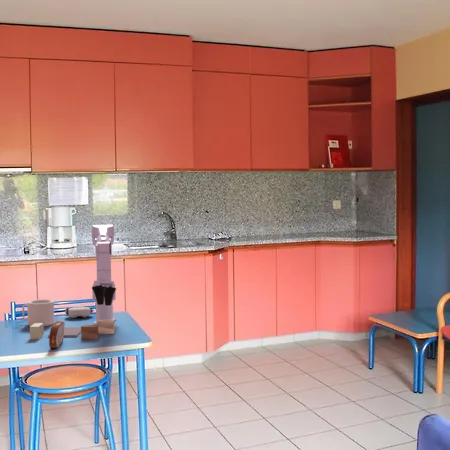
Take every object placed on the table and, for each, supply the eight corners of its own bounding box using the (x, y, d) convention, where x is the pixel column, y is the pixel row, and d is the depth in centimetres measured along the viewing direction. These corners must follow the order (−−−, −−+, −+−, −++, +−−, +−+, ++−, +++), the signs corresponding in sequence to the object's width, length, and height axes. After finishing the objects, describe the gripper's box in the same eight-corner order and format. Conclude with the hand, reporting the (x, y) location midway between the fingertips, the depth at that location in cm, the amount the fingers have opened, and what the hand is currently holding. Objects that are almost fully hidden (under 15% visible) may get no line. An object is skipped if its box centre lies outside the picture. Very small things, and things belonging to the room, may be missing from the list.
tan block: (99, 332, 234) (99, 319, 234) (114, 331, 235) (114, 319, 234) (98, 334, 231) (98, 321, 231) (113, 334, 231) (113, 321, 231)
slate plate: (56, 329, 239) (56, 327, 238) (83, 329, 239) (83, 327, 239) (48, 337, 226) (48, 335, 226) (76, 337, 226) (76, 335, 226)
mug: (58, 321, 252) (57, 299, 252) (48, 327, 242) (47, 304, 241) (28, 321, 254) (27, 298, 253) (17, 327, 243) (16, 303, 242)
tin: (57, 340, 222) (57, 318, 221) (65, 340, 222) (65, 318, 221) (48, 351, 207) (47, 327, 206) (57, 351, 207) (56, 327, 206)
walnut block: (83, 337, 226) (82, 324, 226) (98, 337, 226) (98, 324, 226) (81, 339, 223) (81, 326, 222) (96, 339, 223) (96, 326, 223)
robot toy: (64, 315, 269) (65, 320, 255) (63, 305, 269) (65, 309, 255) (91, 313, 273) (94, 318, 259) (90, 304, 273) (94, 307, 259)
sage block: (30, 339, 223) (29, 326, 223) (34, 335, 229) (34, 323, 229) (39, 339, 223) (39, 326, 223) (43, 335, 229) (43, 323, 229)
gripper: (105, 268, 226) (106, 303, 223) (120, 272, 240) (120, 305, 237) (89, 270, 227) (89, 304, 225) (104, 273, 241) (104, 306, 239)
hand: (104, 305), depth 231 cm, fingers open, 7 cm apart
